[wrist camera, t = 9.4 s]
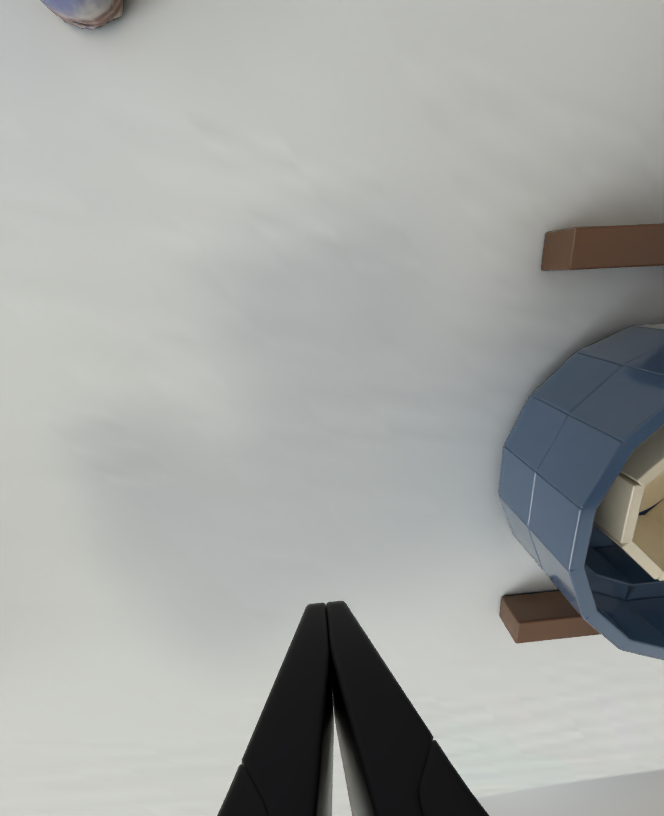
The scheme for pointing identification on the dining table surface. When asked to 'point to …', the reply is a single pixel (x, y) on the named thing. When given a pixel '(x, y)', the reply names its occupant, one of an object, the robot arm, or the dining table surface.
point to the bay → (578, 251)
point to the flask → (86, 11)
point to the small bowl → (638, 507)
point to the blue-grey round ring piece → (589, 480)
